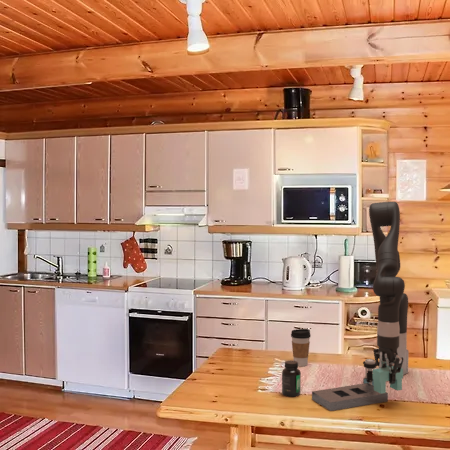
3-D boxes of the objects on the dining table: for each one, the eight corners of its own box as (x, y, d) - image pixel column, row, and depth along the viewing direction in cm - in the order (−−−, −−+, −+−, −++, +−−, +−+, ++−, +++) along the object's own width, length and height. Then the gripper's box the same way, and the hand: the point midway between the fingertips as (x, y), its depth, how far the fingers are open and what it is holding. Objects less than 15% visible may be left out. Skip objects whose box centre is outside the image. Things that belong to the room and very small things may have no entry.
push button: (379, 383, 227) (379, 358, 226) (381, 388, 222) (382, 362, 221) (361, 383, 228) (362, 358, 227) (363, 387, 222) (364, 362, 222)
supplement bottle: (303, 396, 213) (303, 364, 212) (285, 398, 212) (285, 365, 211) (296, 390, 220) (297, 359, 219) (279, 391, 218) (279, 360, 218)
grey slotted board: (367, 390, 219) (367, 382, 219) (387, 401, 208) (387, 393, 208) (311, 399, 210) (312, 391, 210) (330, 411, 199) (330, 402, 199)
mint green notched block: (395, 386, 209) (395, 365, 209) (403, 389, 205) (403, 368, 205) (372, 390, 205) (372, 369, 205) (379, 393, 201) (379, 372, 201)
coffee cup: (311, 367, 248) (311, 332, 248) (291, 367, 248) (291, 332, 248) (309, 361, 257) (309, 327, 256) (289, 361, 257) (290, 327, 256)
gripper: (410, 337, 199) (410, 386, 200) (383, 327, 212) (383, 374, 213) (392, 339, 196) (392, 389, 197) (366, 329, 209) (366, 376, 210)
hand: (387, 381), depth 205 cm, fingers closed on mint green notched block, 4 cm apart
